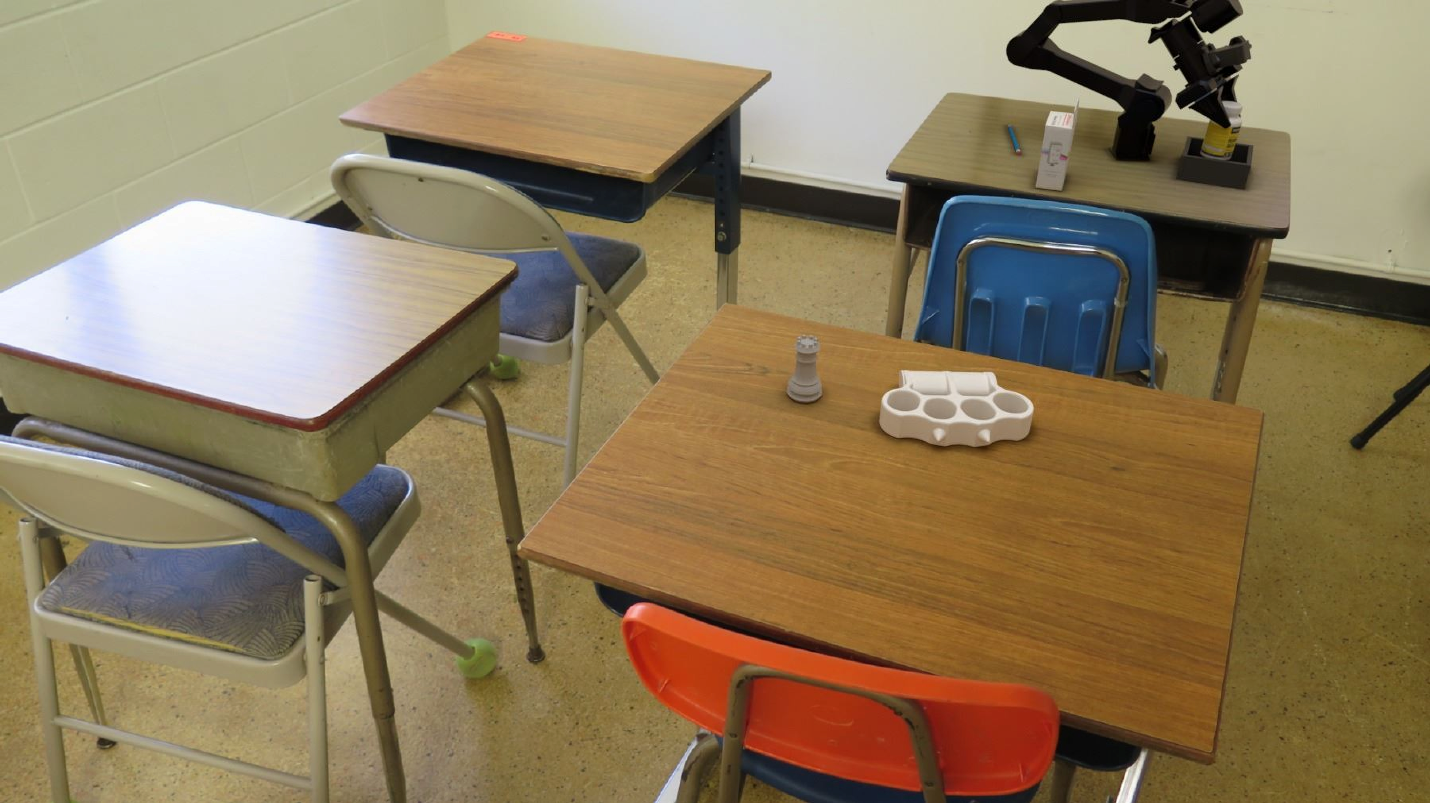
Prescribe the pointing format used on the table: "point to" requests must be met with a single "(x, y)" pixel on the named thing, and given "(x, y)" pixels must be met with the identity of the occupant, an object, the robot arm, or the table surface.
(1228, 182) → the bin
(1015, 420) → the knuckle duster
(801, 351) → the rook chess piece
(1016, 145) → the pencil
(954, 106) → the table surface
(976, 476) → the table surface
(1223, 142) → the supplement bottle
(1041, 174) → the ink cartridge box
